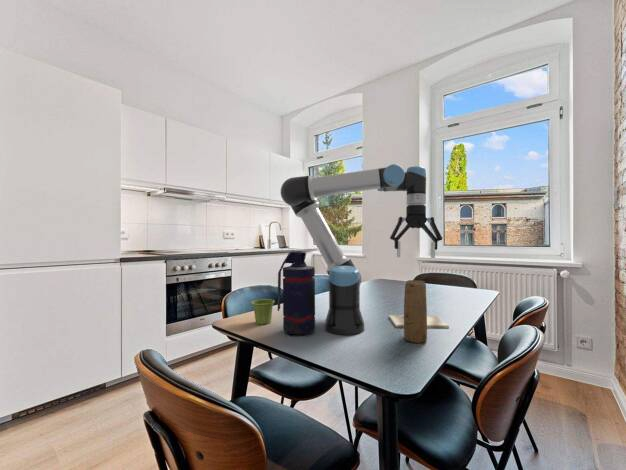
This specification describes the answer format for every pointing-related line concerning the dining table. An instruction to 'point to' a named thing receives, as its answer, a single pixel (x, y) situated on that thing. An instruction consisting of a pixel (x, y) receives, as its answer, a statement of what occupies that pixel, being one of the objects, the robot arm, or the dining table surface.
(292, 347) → the dining table surface
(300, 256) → the grenade
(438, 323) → the letter board
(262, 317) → the plant pot
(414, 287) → the block
